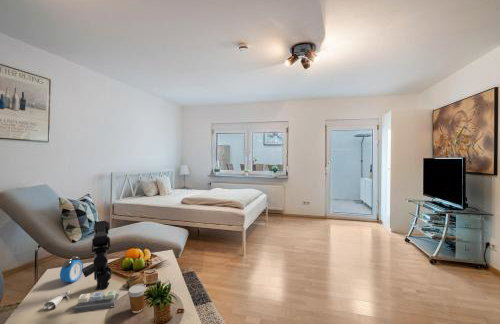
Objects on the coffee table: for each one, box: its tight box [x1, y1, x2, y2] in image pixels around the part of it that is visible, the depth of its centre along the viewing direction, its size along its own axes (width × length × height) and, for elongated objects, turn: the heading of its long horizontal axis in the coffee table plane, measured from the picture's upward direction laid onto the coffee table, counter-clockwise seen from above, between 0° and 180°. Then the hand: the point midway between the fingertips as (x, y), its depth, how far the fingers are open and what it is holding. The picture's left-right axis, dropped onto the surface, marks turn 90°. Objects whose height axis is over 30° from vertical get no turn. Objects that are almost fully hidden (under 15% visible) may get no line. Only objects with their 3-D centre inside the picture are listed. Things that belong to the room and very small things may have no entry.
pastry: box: [125, 272, 144, 289], centre depth 158 cm, size 13×15×8 cm
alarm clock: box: [59, 255, 84, 284], centre depth 160 cm, size 13×6×15 cm, turn 178°
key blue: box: [91, 291, 104, 301], centre depth 137 cm, size 4×4×2 cm
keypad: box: [73, 293, 120, 313], centre depth 138 cm, size 11×19×2 cm, turn 106°
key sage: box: [104, 290, 117, 300], centre depth 139 cm, size 4×4×2 cm
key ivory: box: [77, 292, 91, 303], centre depth 136 cm, size 4×4×2 cm
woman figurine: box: [42, 289, 71, 310], centre depth 138 cm, size 12×4×18 cm
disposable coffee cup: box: [127, 284, 148, 311], centre depth 133 cm, size 10×10×12 cm
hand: (101, 285), depth 134 cm, fingers open, 9 cm apart
